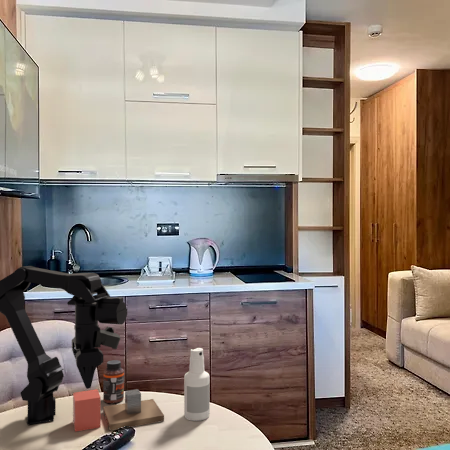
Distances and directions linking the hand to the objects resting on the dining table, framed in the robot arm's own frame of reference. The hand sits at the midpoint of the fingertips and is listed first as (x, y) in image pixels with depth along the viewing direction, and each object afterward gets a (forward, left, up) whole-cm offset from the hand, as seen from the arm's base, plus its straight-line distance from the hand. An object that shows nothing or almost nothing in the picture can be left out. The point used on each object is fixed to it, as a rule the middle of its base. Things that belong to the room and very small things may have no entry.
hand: (86, 382), depth 114 cm
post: (+12, 0, -9) cm, 15 cm away
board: (+12, 0, -11) cm, 16 cm away
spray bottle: (+28, -7, -11) cm, 31 cm away
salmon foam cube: (0, 0, -11) cm, 11 cm away
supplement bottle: (+9, +13, -11) cm, 20 cm away
